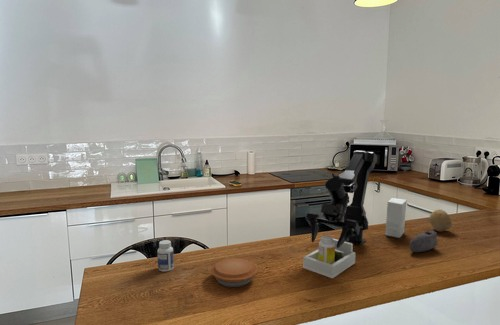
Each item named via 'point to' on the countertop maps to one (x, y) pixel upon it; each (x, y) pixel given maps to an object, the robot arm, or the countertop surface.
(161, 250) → the pill bottle
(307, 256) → the pusher lane
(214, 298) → the countertop surface
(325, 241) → the supplement bottle
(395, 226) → the skincare box
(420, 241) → the perforated stone tool
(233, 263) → the pie
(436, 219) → the natural sponge
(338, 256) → the pusher plate
